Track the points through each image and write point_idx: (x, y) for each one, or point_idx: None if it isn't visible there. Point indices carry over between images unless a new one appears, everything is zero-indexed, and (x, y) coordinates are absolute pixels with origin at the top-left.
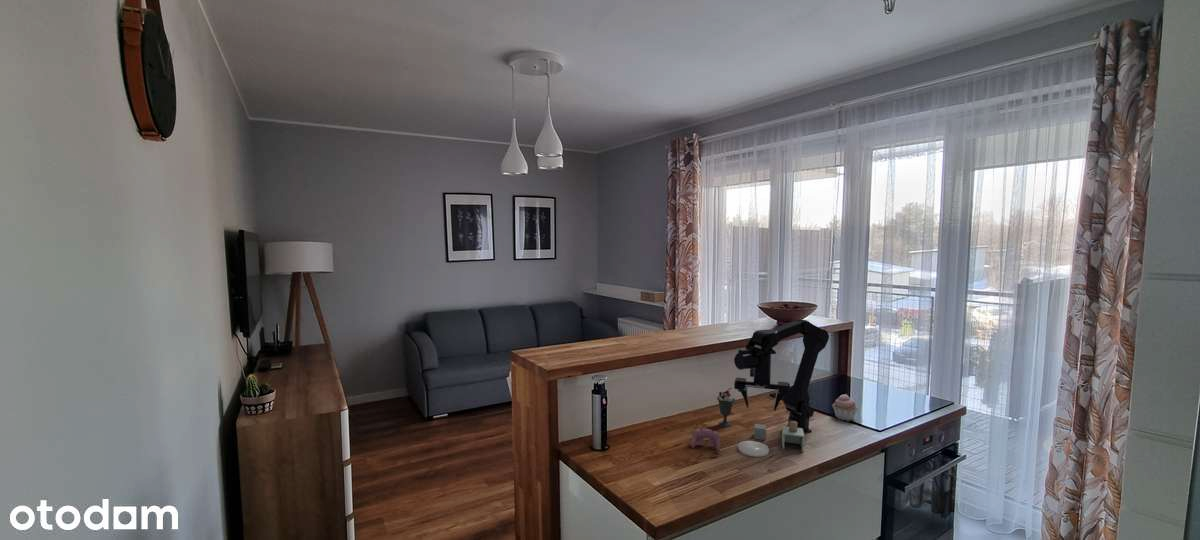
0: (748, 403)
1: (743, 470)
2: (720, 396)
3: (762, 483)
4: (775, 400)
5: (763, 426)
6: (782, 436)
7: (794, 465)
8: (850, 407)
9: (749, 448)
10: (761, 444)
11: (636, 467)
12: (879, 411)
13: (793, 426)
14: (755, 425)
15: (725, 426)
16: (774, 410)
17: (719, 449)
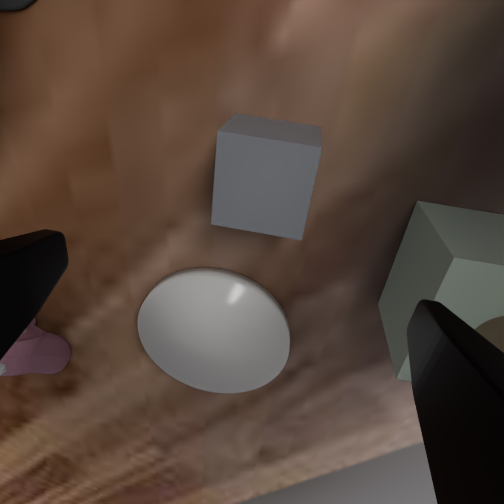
0: (28, 256)
1: (176, 453)
2: None
3: (231, 501)
4: (479, 501)
5: (290, 182)
6: (411, 273)
7: (374, 429)
8: None
9: (192, 353)
10: (257, 311)
11: None
12: None
13: None
14: (222, 170)
15: (9, 7)
16: (409, 341)
17: (67, 360)
